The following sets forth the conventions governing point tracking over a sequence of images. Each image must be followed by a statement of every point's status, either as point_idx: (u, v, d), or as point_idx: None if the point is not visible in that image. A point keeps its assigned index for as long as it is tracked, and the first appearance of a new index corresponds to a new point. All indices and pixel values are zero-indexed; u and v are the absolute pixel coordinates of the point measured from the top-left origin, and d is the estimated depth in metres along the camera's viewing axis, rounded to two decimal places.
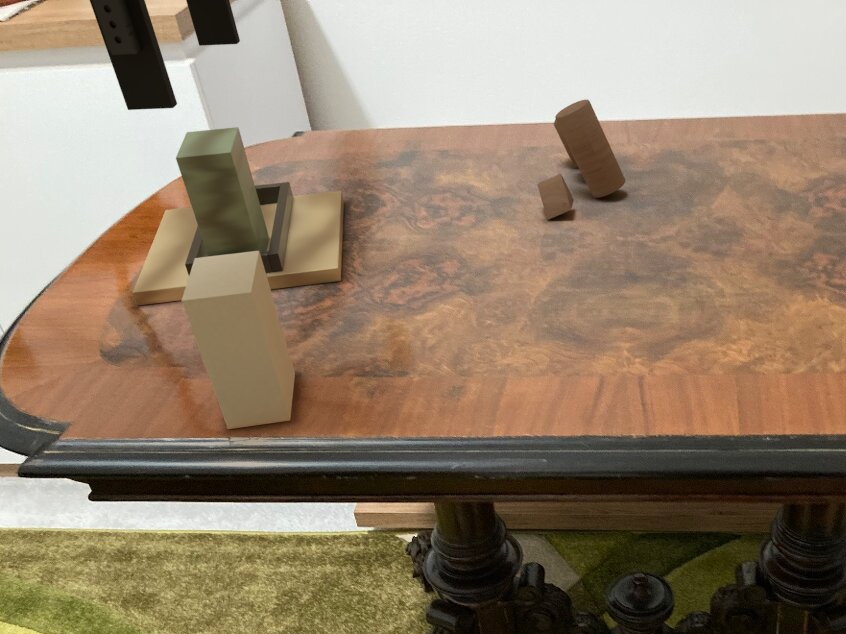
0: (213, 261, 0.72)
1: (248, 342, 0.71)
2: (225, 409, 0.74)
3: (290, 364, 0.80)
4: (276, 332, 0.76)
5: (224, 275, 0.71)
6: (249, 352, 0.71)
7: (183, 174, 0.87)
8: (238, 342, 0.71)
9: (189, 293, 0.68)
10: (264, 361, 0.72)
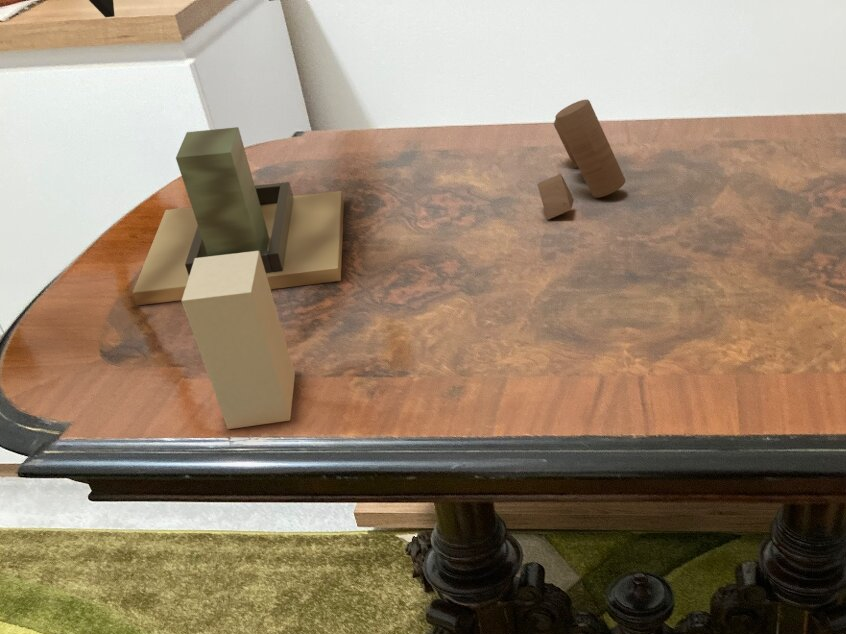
0: (213, 261, 0.72)
1: (248, 342, 0.71)
2: (225, 409, 0.74)
3: (290, 364, 0.80)
4: (276, 332, 0.76)
5: (224, 275, 0.71)
6: (249, 352, 0.71)
7: (183, 174, 0.87)
8: (238, 342, 0.71)
9: (189, 293, 0.68)
10: (264, 361, 0.72)
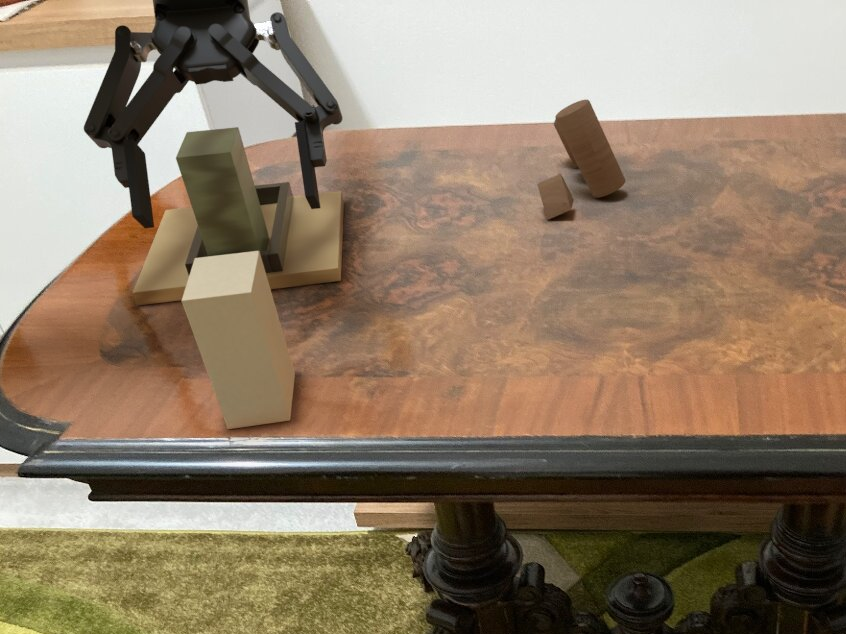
0: (213, 261, 0.72)
1: (248, 342, 0.71)
2: (225, 409, 0.74)
3: (290, 364, 0.80)
4: (276, 332, 0.76)
5: (224, 275, 0.71)
6: (249, 352, 0.71)
7: (183, 174, 0.87)
8: (238, 342, 0.71)
9: (189, 293, 0.68)
10: (264, 361, 0.72)
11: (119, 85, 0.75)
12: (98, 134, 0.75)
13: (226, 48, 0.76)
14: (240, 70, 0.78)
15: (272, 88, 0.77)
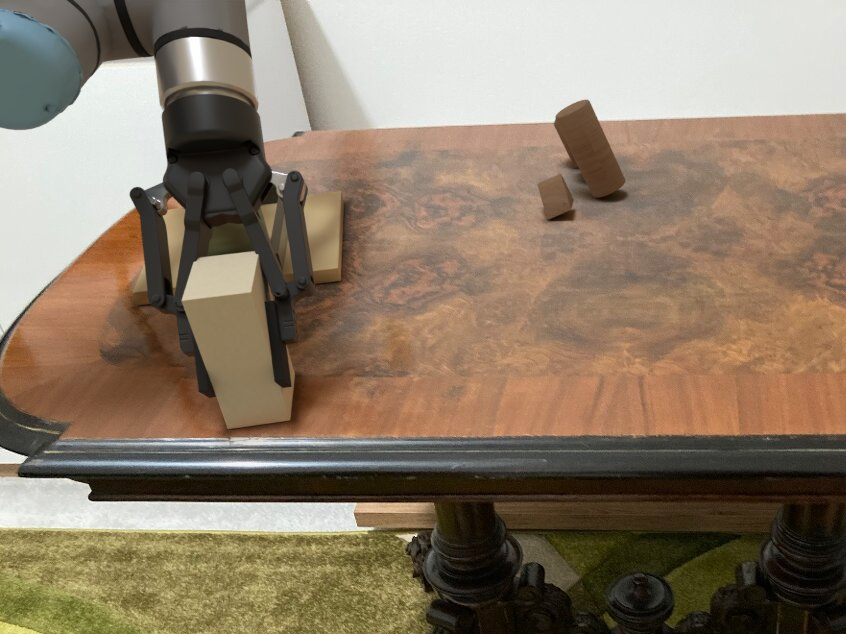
0: (213, 261, 0.72)
1: (248, 341, 0.71)
2: (225, 409, 0.74)
3: (290, 364, 0.80)
4: None
5: (224, 275, 0.71)
6: (249, 352, 0.71)
7: None
8: (238, 342, 0.71)
9: (189, 293, 0.68)
10: (264, 361, 0.72)
11: (160, 246, 0.73)
12: (165, 301, 0.72)
13: (241, 194, 0.73)
14: None
15: (257, 251, 0.73)
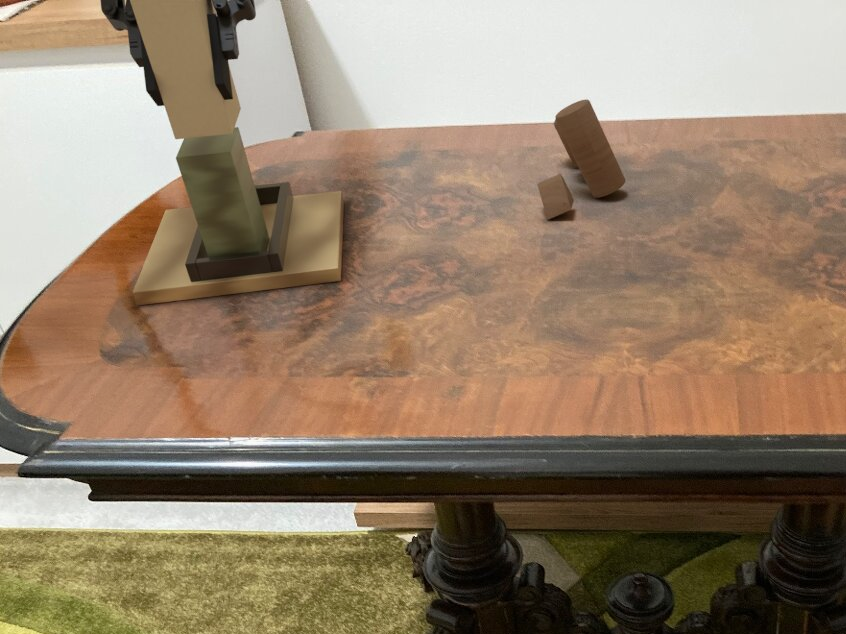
0: None
1: (190, 44, 0.78)
2: (172, 117, 0.81)
3: (235, 94, 0.87)
4: None
5: None
6: (192, 55, 0.79)
7: (183, 174, 0.87)
8: (181, 44, 0.78)
9: None
10: (206, 66, 0.80)
11: None
12: (116, 12, 0.80)
13: None
14: None
15: None
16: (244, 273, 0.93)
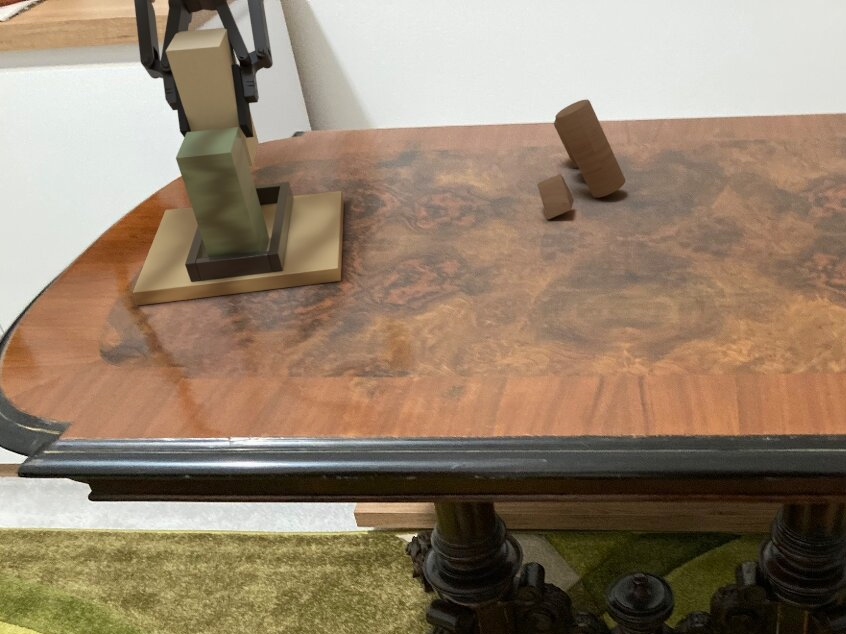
0: (191, 32, 0.93)
1: (218, 91, 0.91)
2: None
3: (254, 131, 1.00)
4: None
5: (199, 38, 0.91)
6: (219, 101, 0.92)
7: (183, 174, 0.87)
8: (210, 91, 0.91)
9: (171, 47, 0.89)
10: (231, 109, 0.92)
11: (149, 21, 0.93)
12: (153, 63, 0.92)
13: None
14: (213, 4, 0.95)
15: (226, 27, 0.94)
16: (244, 273, 0.93)
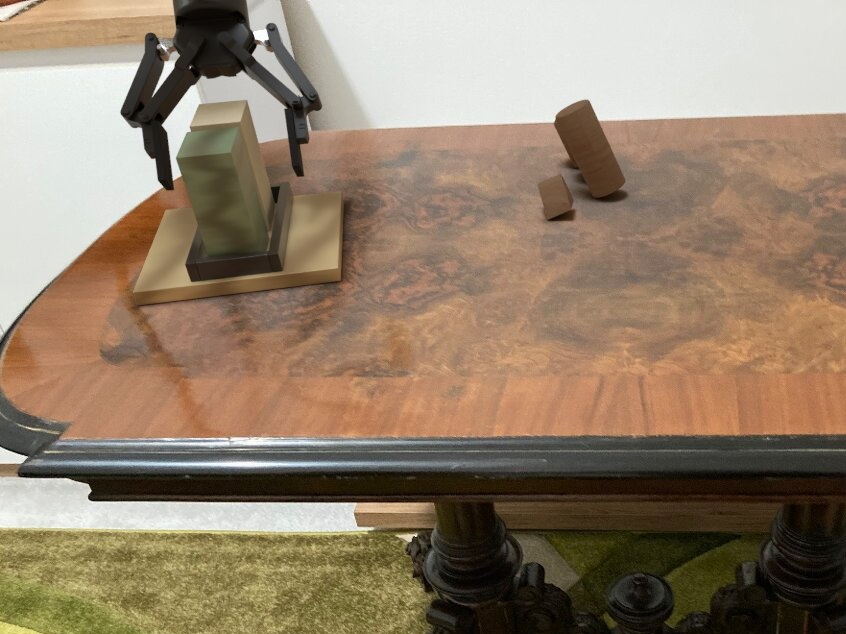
0: (212, 105, 0.97)
1: None
2: None
3: (271, 195, 1.05)
4: (260, 164, 1.01)
5: (220, 112, 0.96)
6: None
7: (183, 174, 0.87)
8: None
9: (195, 122, 0.93)
10: None
11: (148, 79, 0.97)
12: (131, 117, 0.96)
13: (231, 50, 0.98)
14: (242, 68, 1.00)
15: (267, 82, 0.98)
16: (244, 273, 0.93)
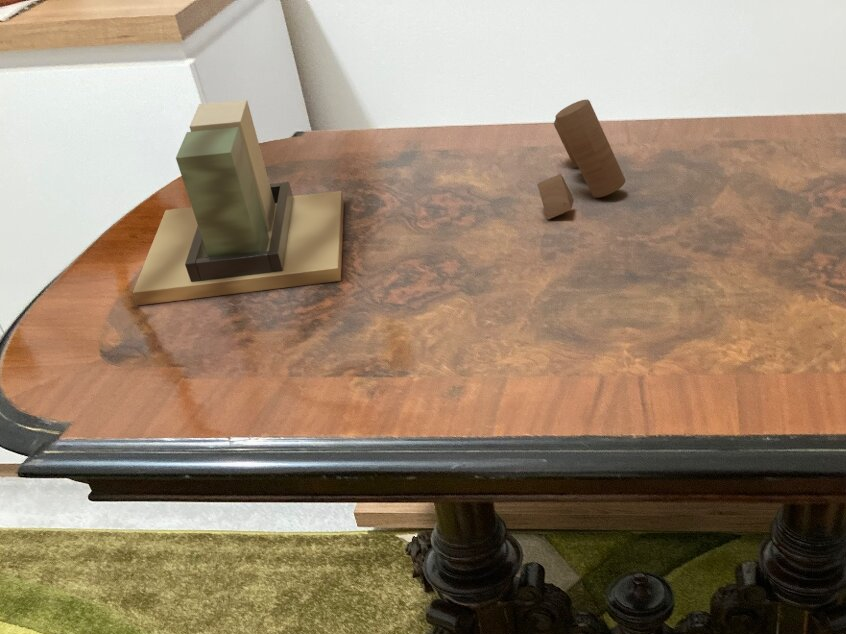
0: (212, 105, 0.97)
1: None
2: None
3: (271, 195, 1.05)
4: (260, 164, 1.01)
5: (220, 112, 0.96)
6: None
7: (183, 174, 0.87)
8: None
9: (195, 122, 0.93)
10: None
11: None
12: None
13: None
14: None
15: None
16: (244, 273, 0.93)
